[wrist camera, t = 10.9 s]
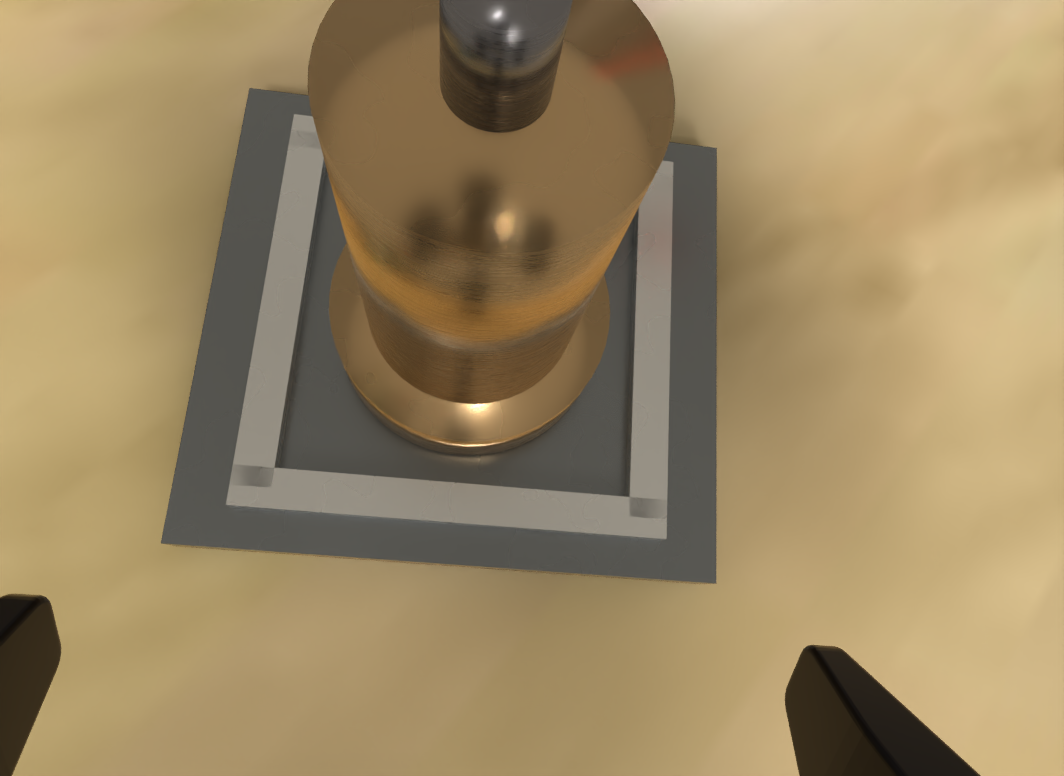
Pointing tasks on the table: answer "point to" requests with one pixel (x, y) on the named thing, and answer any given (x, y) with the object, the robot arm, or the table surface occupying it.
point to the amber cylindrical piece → (482, 201)
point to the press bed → (426, 475)
